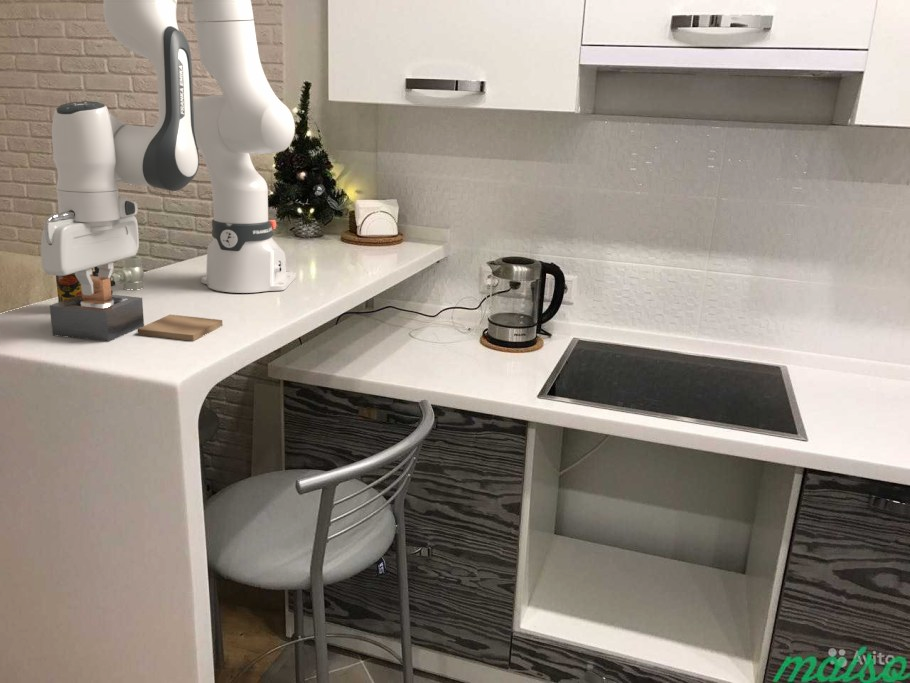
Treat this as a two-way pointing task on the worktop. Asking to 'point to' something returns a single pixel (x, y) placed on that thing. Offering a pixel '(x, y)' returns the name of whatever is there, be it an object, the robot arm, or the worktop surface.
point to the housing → (97, 318)
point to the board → (180, 327)
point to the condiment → (68, 286)
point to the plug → (99, 294)
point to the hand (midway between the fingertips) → (96, 292)
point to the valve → (127, 273)
